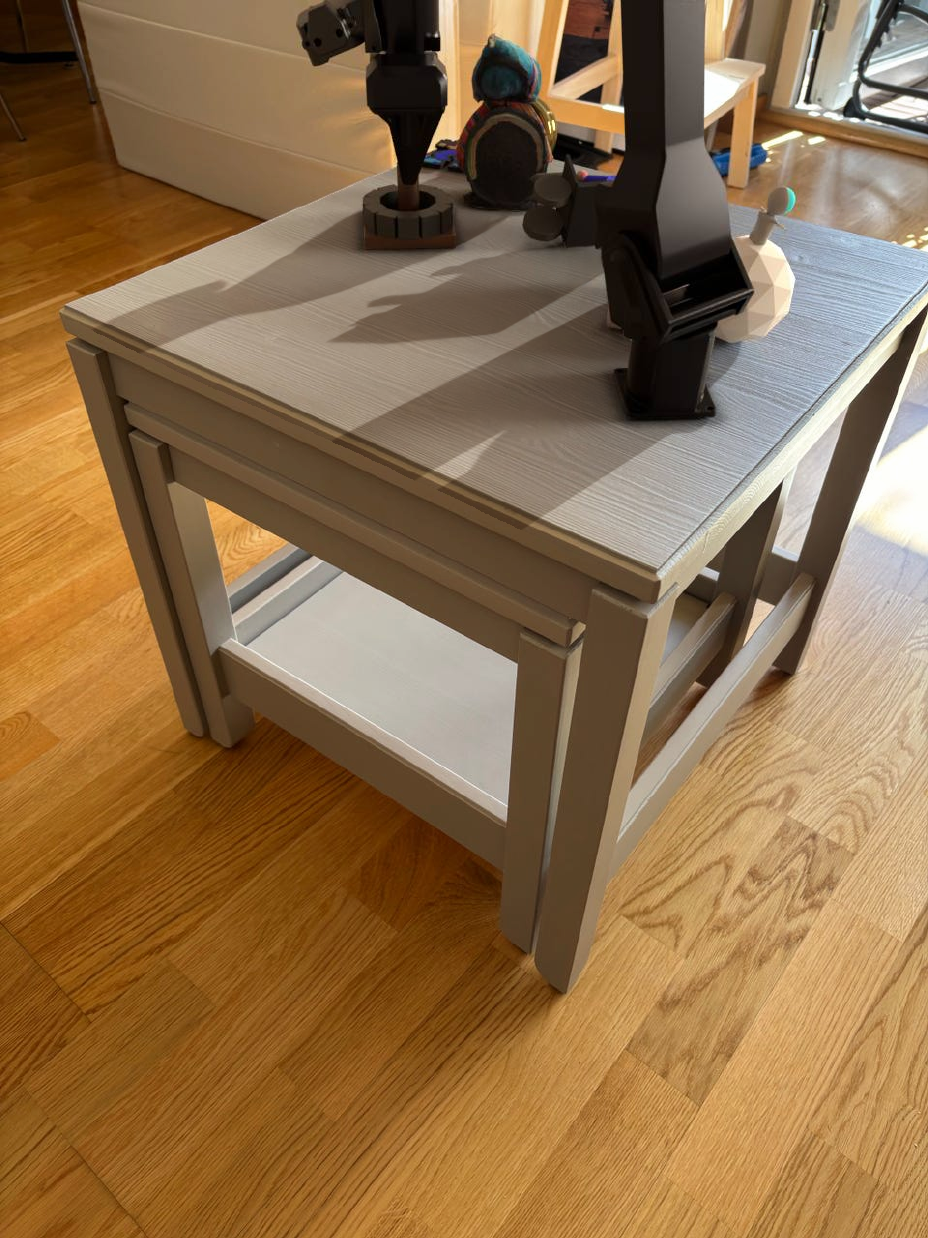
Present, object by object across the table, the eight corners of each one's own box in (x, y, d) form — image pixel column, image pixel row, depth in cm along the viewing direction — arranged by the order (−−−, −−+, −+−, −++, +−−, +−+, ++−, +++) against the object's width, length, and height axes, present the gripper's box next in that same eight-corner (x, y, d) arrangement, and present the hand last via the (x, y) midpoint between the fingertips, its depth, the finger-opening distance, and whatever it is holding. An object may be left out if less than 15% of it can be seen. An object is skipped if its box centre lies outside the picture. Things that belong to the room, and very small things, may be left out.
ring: (454, 239, 88) (454, 217, 87) (362, 240, 88) (361, 218, 86) (450, 203, 94) (450, 182, 93) (364, 204, 94) (363, 183, 92)
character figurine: (515, 234, 93) (663, 225, 95) (532, 260, 87) (689, 250, 89) (518, 146, 88) (675, 139, 90) (537, 168, 82) (703, 160, 84)
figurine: (555, 190, 100) (568, 24, 90) (544, 216, 95) (556, 44, 85) (462, 181, 102) (464, 17, 91) (446, 206, 97) (446, 36, 86)
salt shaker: (515, 190, 101) (531, 181, 110) (566, 133, 97) (579, 128, 106) (465, 136, 100) (486, 131, 108) (515, 76, 96) (532, 75, 104)
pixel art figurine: (466, 172, 103) (504, 138, 111) (466, 169, 103) (504, 135, 111) (415, 164, 105) (455, 130, 113) (415, 160, 105) (455, 127, 113)
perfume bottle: (777, 370, 77) (863, 223, 69) (690, 352, 74) (770, 197, 66) (738, 322, 82) (813, 181, 74) (655, 303, 79) (725, 155, 71)
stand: (456, 247, 90) (456, 178, 85) (364, 249, 89) (360, 180, 85) (451, 211, 96) (451, 145, 91) (365, 213, 95) (361, 146, 91)
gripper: (303, -70, 81) (320, 130, 91) (288, -20, 67) (310, 207, 78) (436, -70, 81) (437, 129, 92) (447, -21, 68) (448, 205, 79)
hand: (407, 164), depth 85 cm, fingers open, 9 cm apart
